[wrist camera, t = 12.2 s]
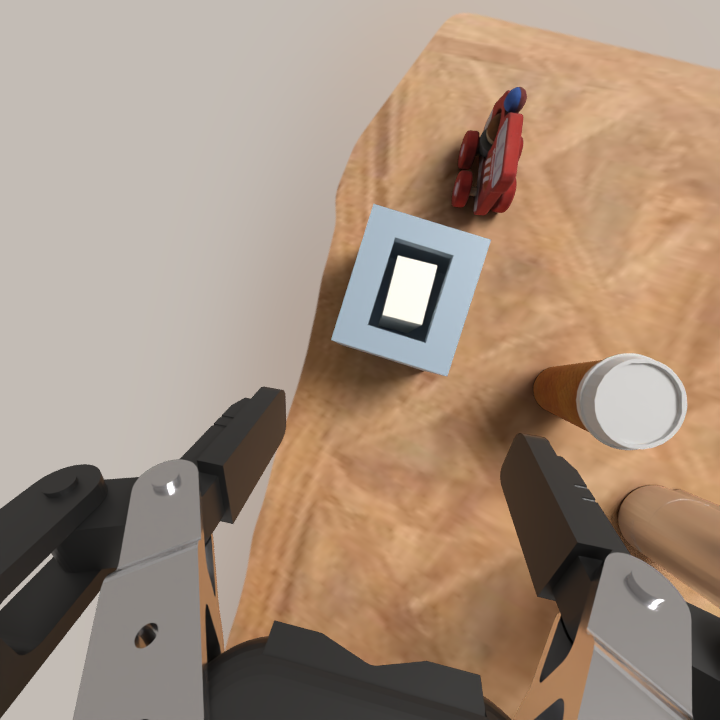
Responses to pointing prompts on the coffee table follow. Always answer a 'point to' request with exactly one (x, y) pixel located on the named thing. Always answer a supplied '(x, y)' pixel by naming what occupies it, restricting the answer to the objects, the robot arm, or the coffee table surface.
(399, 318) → the block
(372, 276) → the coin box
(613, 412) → the disposable coffee cup
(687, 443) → the coffee table surface
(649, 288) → the coffee table surface
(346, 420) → the coffee table surface
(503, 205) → the toy fire truck
